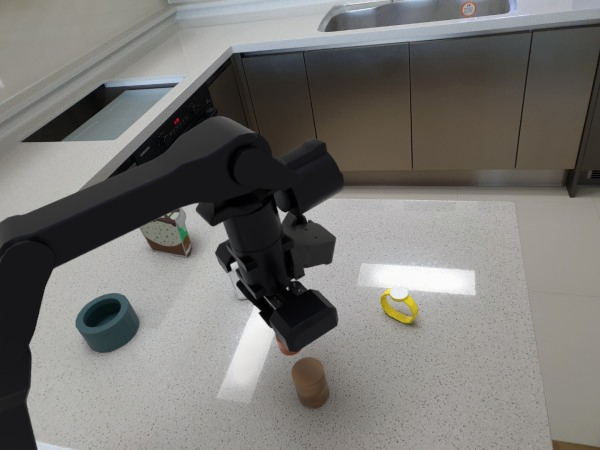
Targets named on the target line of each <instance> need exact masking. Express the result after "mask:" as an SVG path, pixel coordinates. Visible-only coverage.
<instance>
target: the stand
mask: <svg viewBox="0 0 600 450" xmlns="http://www.w3.org/2000/svg"><path fill="white" fill-rule="evenodd" d="M291 378H292V382H293V385H294V388H295V392H296V394H297V398H298V400H299V403H300V404H301V405H302V406H304V407H305V408H308V409H317V408H320V407H322V406H323V405H324V404H325V403H326V402H327V401H328V399H329V396H330V390H329V385H328V381H327V377H326V373H325V368H324V365H323V363H322V361H320V360H319V359H318V358H316V357H312V356H307V357H306V356H305V357H303V358H300V359H298V360H297V361H296V362H294V364H293V365H292V368H291Z"/></svg>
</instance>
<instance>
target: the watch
mask: <svg viewBox="0 0 600 450" xmlns="http://www.w3.org/2000/svg"><path fill="white" fill-rule="evenodd" d="M387 296H389V297H390V299H391V300H392V301H394V302H397V303H402V302H403V303H404V304H405V305H406V306H407V307H408V308H409V310H410V312H411V316H410V315H409V316H407V315H406V314H404V313H402V312H400V311H397V310H396V309H394V308H393V307H392V305H391V304H389V301H388V299H387ZM379 304H380V307H381V308H382V309H383V311H384V312H385V314H387V316H388V317H391V318H393V319H395V320H397V321H398V322H400V323H402V324H406V325H407V324H412V323H413V322H414V321H415V320H416V318H417V317H418V315H419V306H418V305H417V303H416V301H415V300H414V298H413V297H412V296H410V295H409V289H407V287H405V286H404V285H395V286H393V287H390V288H387V289H386V290H385V291H384V292H383V293H382V294H381V295H380V298H379Z"/></svg>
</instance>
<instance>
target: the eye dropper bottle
mask: <svg viewBox="0 0 600 450" xmlns="http://www.w3.org/2000/svg"><path fill="white" fill-rule="evenodd" d="M231 268H232V271H231V272H229V273H228V277H229V280H230V283H231V285H232V288H233V291H234V293H235V297H236V298H237V299H238V300H248V299H247V298H246V297H245V296H244V295H243V293H242V292H241V291H240V290H239V288H238V287H237V286H236V282H237V281H238V280H240V279H239V278H238V276H237V274H236V271H235V270H236V269H237V268H239V267H238V264H237V261H236V262H234V263H232V264H231Z"/></svg>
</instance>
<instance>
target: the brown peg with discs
mask: <svg viewBox="0 0 600 450" xmlns="http://www.w3.org/2000/svg"><path fill="white" fill-rule="evenodd" d="M274 337H275V340H276V343H277V346H278V349H279V352H280V353H281V354H283V355H285V356H288V357H289V356H290V357H291V356H295V355H297V354H299V353H300V352H301V351H302V349H301V350H299V351H298V352H289V351H288V350H287V348H286V347H285V346H284V345H283V343H282V342H281V341H280V340H279V338H278V337H277V336H276V334H275V335H274Z"/></svg>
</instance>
